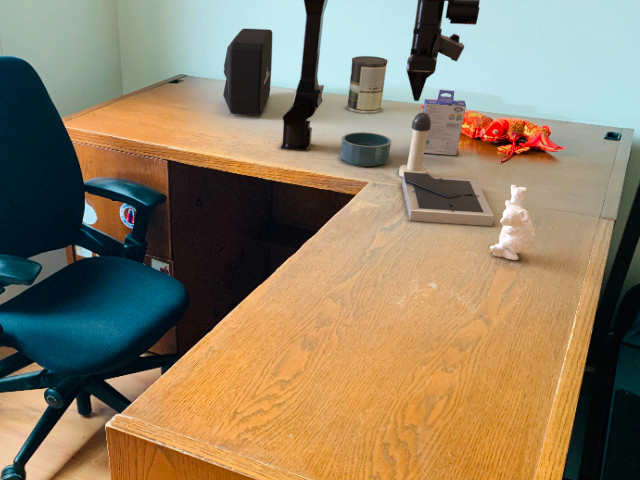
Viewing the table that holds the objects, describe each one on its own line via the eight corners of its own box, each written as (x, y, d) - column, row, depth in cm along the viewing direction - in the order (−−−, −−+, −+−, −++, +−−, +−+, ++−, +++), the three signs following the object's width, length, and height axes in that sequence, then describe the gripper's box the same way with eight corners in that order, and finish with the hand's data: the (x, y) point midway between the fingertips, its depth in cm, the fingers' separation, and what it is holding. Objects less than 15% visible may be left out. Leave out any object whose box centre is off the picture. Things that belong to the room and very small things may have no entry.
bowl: (337, 165, 158) (339, 144, 155) (343, 150, 167) (345, 130, 165) (386, 170, 156) (389, 148, 153) (389, 155, 165) (392, 134, 162)
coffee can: (340, 109, 201) (345, 59, 193) (356, 103, 208) (362, 54, 200) (371, 115, 196) (378, 64, 188) (386, 108, 203) (393, 59, 195)
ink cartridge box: (455, 149, 170) (467, 90, 162) (457, 156, 165) (469, 95, 157) (416, 146, 171) (426, 87, 163) (416, 153, 167) (426, 93, 159)
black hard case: (260, 120, 189) (262, 44, 178) (217, 117, 190) (217, 42, 179) (270, 95, 214) (273, 27, 203) (233, 93, 215) (234, 25, 204)
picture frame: (401, 183, 148) (409, 220, 131) (403, 171, 146) (412, 207, 129) (474, 188, 147) (491, 226, 129) (476, 176, 145) (495, 212, 128)
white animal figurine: (482, 243, 123) (497, 181, 116) (520, 246, 122) (537, 183, 115) (491, 264, 116) (508, 198, 109) (531, 267, 115) (550, 201, 108)
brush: (398, 178, 151) (407, 115, 143) (399, 169, 156) (409, 108, 148) (426, 181, 150) (438, 118, 142) (427, 172, 155) (438, 110, 147)
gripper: (466, 30, 138) (452, 108, 146) (465, 18, 153) (453, 89, 161) (411, 28, 140) (401, 104, 149) (415, 16, 155) (406, 86, 164)
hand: (417, 96), depth 156 cm, fingers open, 9 cm apart
